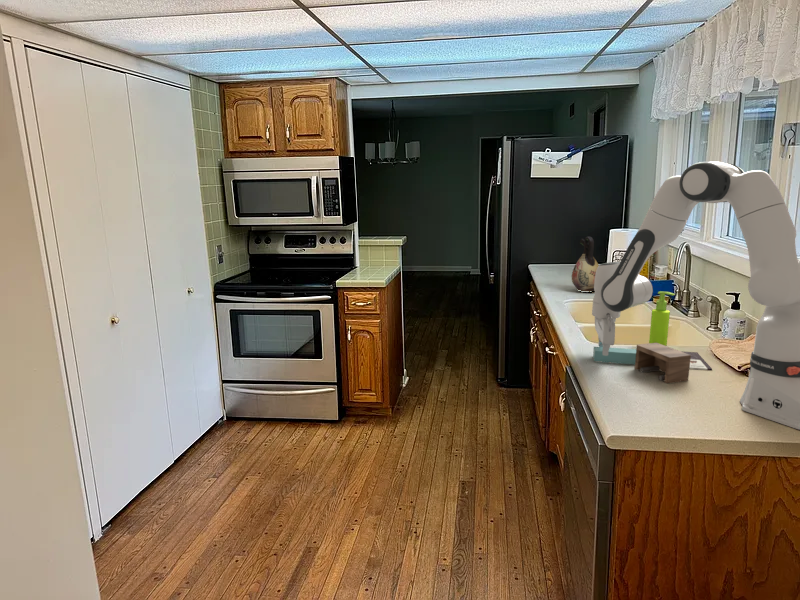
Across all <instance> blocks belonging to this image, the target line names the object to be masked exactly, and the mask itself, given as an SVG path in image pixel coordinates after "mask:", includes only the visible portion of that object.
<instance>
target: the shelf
mask: <svg viewBox="0 0 800 600" xmlns="http://www.w3.org/2000/svg"><path fill="white" fill-rule="evenodd" d="M635 349H636V360H635V364H634V369H635V370H636V371H639V370H640V372H641V373H646V372H654V371H661V372H662V373H665V374H663V375H658V380H659V381H664V383H666V384H672V383H680V382H688V381H689V376H690V369H689V368H690V358H691V355H689V354H686V353H684V352H685V351H683V352H681V350H678V349H676V348H672V347H669V346H665V345H662V344H659V343H649V342H648V343H642V344H636V347H635Z"/></svg>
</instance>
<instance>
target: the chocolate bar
mask: <svg viewBox="0 0 800 600" xmlns="http://www.w3.org/2000/svg"><path fill="white" fill-rule="evenodd" d="M680 351H681V350H680ZM681 352H684V353H686V354H689V355H691V358H690V368H689V370H696V371H697V370H698V371H699V370H700V371H713V368H712V367H711V365H709V364H708V362H707V361H706V360H705V359H704V357H702V356H701V355H700V354H699V352H696V351H684V350H683V351H681Z"/></svg>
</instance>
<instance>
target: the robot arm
mask: <svg viewBox="0 0 800 600" xmlns="http://www.w3.org/2000/svg"><path fill="white" fill-rule="evenodd" d="M699 203H707V204H719V203H729V205H730V206H731V207H732V209H733V212H734V213H735V217H736V219H737V222H738V225H739V227H740V229H741V233H742V235H743V239H744V242H745V244H746V248H747V252H748V261H749V268H750V269H749V270H750V277H749V279H748V285H747V286H748V287H747V288H748V293H749V295H750V297H751V298H752V299H753V300H754V301H755V302H757V304H759V305H761V306H762V305H763V306H765V309H764V311H763V313H762V314H761V317H760V318H759V320H758V322H757V325H756V329H755V330H756V332H755V338H754V345H753V350H752V351H751V354H750V359H749V361H750V362H749V366H750V371H749V375H748V379H747V381H746V385H745V388H744V391H743V394H742V395H741V398H740V399H739V402H740V404H741V405H742V406H741V410H742V411H743V412H746V413H750V414H752V415H755V416H758V417H760V418H761V417H762V418H765V419H766V420H770V421H773V422H775V423H778V424H782V425H784V426H788V427H790V428H793V429H796V430H800V258H798V255H797V254H798V253H797V247H796V237H797V230H796V227H795V224H794V222H793V220H792V217H791V215H790V211H789V210H788V208H787V207H788V206H787V204H786V202H785V199H784V197H783V196H782V193H781V191H780V189H779V187H778V186H777V184H776V182H775V181H774V179H773V178H772V177H771V175H770V174H769V173H768V172H766V171H764V170H760V169H759V170H758V169H757V170H749V171H746V172H745V171H744V170H743V169H742V168H741V167H739V166H738V165H736V164H732V163H725V162H722V161H700V162H696V163H693V164H692V165H689V166H688V167H687V168H686V169H685V170H684V171H683V172H682V174H681V175H673V176H670V177H668V178H666V179H665V180H664V182H663V183H662V184H661V186H660V187H659V189H658V191H657V193H656V194H655V196H654V198H653V200H652V202H651V203H650V205H649V208H648V210H647V212H646V214H645V217H644V218H643V220H642V223H641V225H640V227H639V229H638V230H637V232H636V234H635V235H634V237H633V239H632V240H631V241H630V243H629V245H628V246H627V248H626V250H625V252H624V254H623V256H622V258H621V260H620V261H611V262H605V263H604V262H602V263H601V264H598V265H599V266H598V268H597V270H596V274H595V281H594V291H595V292H594V296H593V298H592V299H593V300H592V309H591V315H592V316H593V317H594V329H595V331H596V333H597V340H598V342H597V343H598V345H597V346H598V347H603V349H602V354H603V355H604V356H608V352H609V348H611V346H614V345H615V341H616V338H615V337H616V322H617V319H618V318H621V312H623V311H625V310H628V309H630V308H634V307H637V306H640V305H643V304H645V303H648V301H650V299H652V296H653V293H654V287H653V284H652V282H651V281H650V280H649V278H648V277H646V276H644V275H640V273H641V271H642V270H643V267H644V266H645V264H646V262H647V261H648V260H649V258H650V257H651V256H652V255H653V254H654V253H655V252H658V251H659V250H660V249H661V248H663V247H666V246H667V245H669V244H671V243H672V242H674V241H676V240H677V238H678V237H679V236H680V235H681V233H682V231H683V230H684V228H685V226H686V224H687V222H688V220H689V218H690V216H691V213H692V212H693V210H694V208H695V207H696V205H698V204H699Z"/></svg>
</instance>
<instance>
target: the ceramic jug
mask: <svg viewBox="0 0 800 600" xmlns="http://www.w3.org/2000/svg"><path fill="white" fill-rule="evenodd" d="M579 244H581V245H582V246H583V253H582V254H581V256H580V257H579V258H578V260H577V262H576V263H575V265H574V267H573V269H572V272H571V282H572V284H573V286H574V287H575V288H576V290H577V289H578V290H581V291H589V292H590V291H594V281H595V274H596V270H597V268H598V266H599V265H600V264H599V263H598V262H597V260H596V258H595V257H594V250H595V249H594V248H595V241H594V239H593V237H592V236H586V237H585V238H581V239H580V240H579ZM578 290H577V291H578Z"/></svg>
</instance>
